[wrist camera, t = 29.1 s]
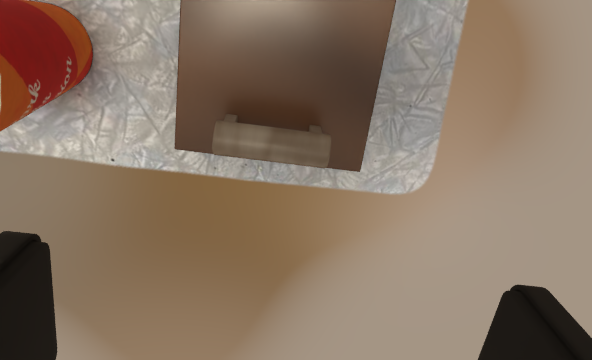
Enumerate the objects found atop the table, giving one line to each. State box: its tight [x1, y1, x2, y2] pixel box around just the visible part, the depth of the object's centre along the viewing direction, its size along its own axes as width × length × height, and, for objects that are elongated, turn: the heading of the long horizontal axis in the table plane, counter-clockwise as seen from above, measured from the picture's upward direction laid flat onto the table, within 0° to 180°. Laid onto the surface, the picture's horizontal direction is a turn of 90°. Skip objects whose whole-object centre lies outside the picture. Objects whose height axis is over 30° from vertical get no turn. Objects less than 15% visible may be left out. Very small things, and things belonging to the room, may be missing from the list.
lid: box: [175, 0, 396, 172], centre depth 23 cm, size 14×12×5 cm
